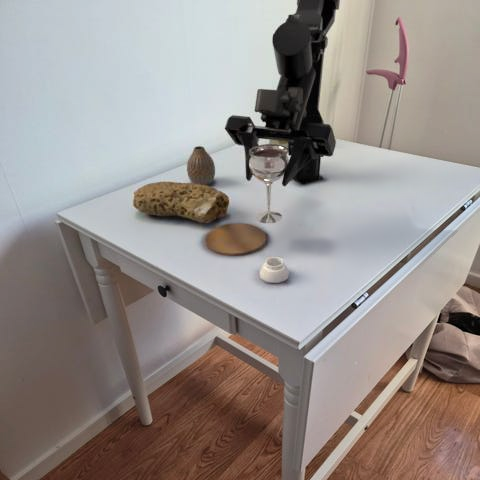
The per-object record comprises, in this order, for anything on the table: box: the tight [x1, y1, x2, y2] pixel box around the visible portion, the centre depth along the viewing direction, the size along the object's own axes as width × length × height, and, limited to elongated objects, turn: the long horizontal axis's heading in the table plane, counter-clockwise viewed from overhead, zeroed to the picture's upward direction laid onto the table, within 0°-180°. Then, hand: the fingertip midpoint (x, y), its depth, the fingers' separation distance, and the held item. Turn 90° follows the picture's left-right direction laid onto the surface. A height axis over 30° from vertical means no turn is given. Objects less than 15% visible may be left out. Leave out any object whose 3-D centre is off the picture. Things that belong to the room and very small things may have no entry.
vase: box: [186, 145, 216, 186], centre depth 104 cm, size 7×7×9 cm
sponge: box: [132, 181, 230, 224], centre depth 91 cm, size 13×8×20 cm
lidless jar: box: [259, 256, 290, 284], centre depth 72 cm, size 5×3×5 cm
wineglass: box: [249, 143, 289, 225], centre depth 74 cm, size 7×7×12 cm
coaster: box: [204, 223, 267, 256], centre depth 83 cm, size 12×12×1 cm
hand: (265, 182), depth 72 cm, fingers closed on wineglass, 6 cm apart
